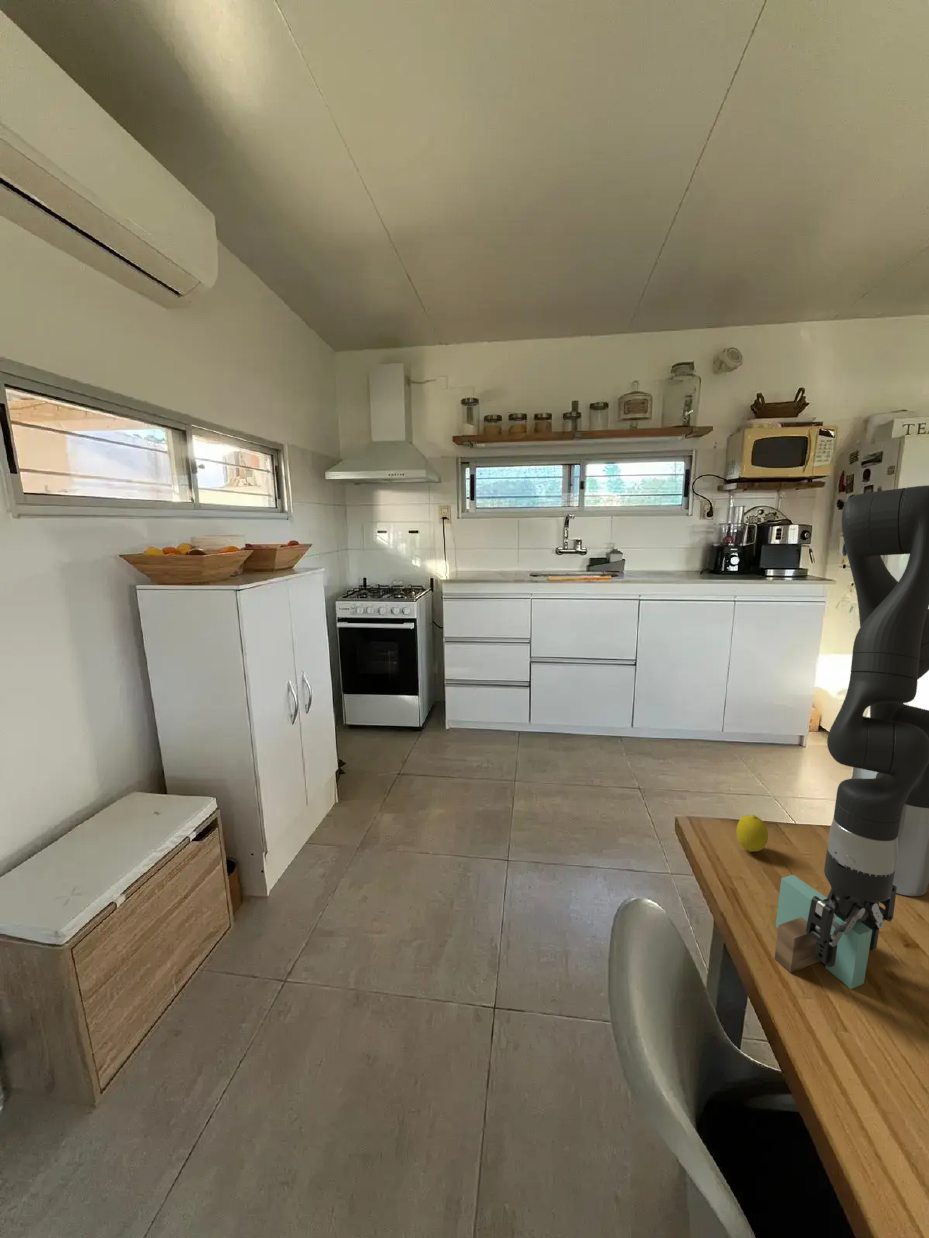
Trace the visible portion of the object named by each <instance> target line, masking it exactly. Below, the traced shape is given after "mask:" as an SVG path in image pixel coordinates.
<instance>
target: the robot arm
mask: <svg viewBox="0 0 929 1238" xmlns="http://www.w3.org/2000/svg"><path fill="white" fill-rule="evenodd" d="M841 531H842V538H843V543H844V547H845V552H846V555H847V559H848V563H849V567H850V571H851V575H852V579H853V582H854V587H855V591H856V597H857V599H856V600H857V605H858V606H857V607H858V617H859V626H860V627H859V629H858V631H857V633H856V635H855V638H854V641H853V646H852V647H853V648H852V654H851V655H852V656H851V663H850V664H851V665H850V666H851V667H850V675H849V683H848V687H847V691H846V694H845V697H844V700H843V703H842V705H841V707H840V709H839V712H838V713H837V716H836V717H835V719H834V721H833V723H832V725H831V727H830V730H828V731H829V732H828V734H827V739H826V744H827V746H826V747H827V750H828V752H829V755H831V757H832V758H833V759H834V760H835V762H837V763H838V764H840V765H842V766H847V767H851V768H856V769H860V770H861V769H862V770H866V771H869V772H875V773H877V774H876V775H875V777H874V778H860V777H859V778H858V777H857V778H847V779H844V780H842V781H840V783H839V785H838V786H837V790H836V796H835V806H834V812H833V813H834V814H833V818H832V822H831V825H830V826H829V827H830V828H829V832H828V838H827V839H828V840H827V846H826V854H825V860H824V861H825V862H824V869H823V873H824V876H825V877H826V880H827V882H828V883H829V885H830V891H829V893H828V894H827V895H828V896H827V897H826V898H827V899H824V900H821V899H820V898H818V897H817V896H814V897H813V898H812V900H811V905H810V911H809V916H808V922H807V927H806V933H807V934H808V935H810V936H811V937H813V938H814V939H815V940H816V941H817V947H816V957H817V958H818V959H819V960H820V962H821V963H822V964H824V965H825V967H826V966H828V967H832V966H834V965H835V958H836V951H837V945H836V944H837V943H838V941H839V940H840V938H841V937H842V935H843V934H845V935H848V934H849V932H850V931H851V929H852V928H853V926H854V924H855V923H857V922H858V921H860V922H862V923H863V924H865V925H866V926H867V927H869V928H870V929H872V935H871V942H870V948H869V951H874V950H876V949H877V946H878V945H877V944H878V939H879V934H880V929H883V927H884V926H885V922H884V921H887V922H892V921H893V919H894V913H895V907H896V906H895V904H896V897H897V894H898V895H902V896H906V897H907V896H908V897H920V896H923V895H925V894H926V893H927V891H928V887H929V886H928V885H929V709H925V708H920V707H916V706H913V705H908V704H907V703H911V702H913V701H914V699H916V696H917V692H918V691H917V690H918V682H919V681H918V680H920V679H921V678H922V677H923V676H924V675H926V674H927V673H928V672H929V484H928V485H918V486H910V487H908V486H907V487H901V488H894V489H885V490H879V491H871V492H863V493H858V494H855V495H852V496H851V497H849V498H848V499H847V500H846V501H845V503H844V505H843V507H842V511H841ZM894 555H895V556H896V555H909V556H908V559H907V560H908V561H907V564H906V567H905V569H904V572H903V573H902V576H901V577H900V579H899V580H897V579H896V578H895V577H894V576H893V575H892V573H891V572H890V571H889V569H888V568H887V566H886V565H885V562H884V560H883V558H882V556H894ZM905 703H906V704H905ZM867 708H869V709H870V710H869V711H870V716H869V717H868V716H864V714H865V713H864V712H865V711H866V710H867ZM880 904H882V905H883V906H884V908H883V907H881V905H880ZM834 914H835V915H836V916H837V917H838V918H840V919H841V920H842V921H844V924H842V925H840V924H839V923H837V922H836V921H835V920H833V919H834V918H835V915H834ZM816 925H817V927H816ZM832 926H834V927H835V931H834V932H833V934H832V935H831V934H830V933H831V928H832Z"/></svg>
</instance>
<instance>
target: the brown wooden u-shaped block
mask: <svg viewBox="0 0 929 1238" xmlns="http://www.w3.org/2000/svg"><path fill="white" fill-rule="evenodd" d="M806 927H807V921H806V920H805V919H804V918H802V917H800V918H797V919H794V920H792V921H789V922H786V923H783V924H780V925H779V926H778V928H777V935H776V944H775V945H776V946H775V953H774V960H775V961H777V963H778V964H780V965H781V967H783V968H784V969H785V970H786V971H787V972H788V973H789V974H792V973H794V972H797V971H799V970H802V969H804V968H807V967H810V966H812V965H815V964H817V963H820V962H821V961H820V960H819V959H818V958H817V957H816V947H817V941H816V940H815V939H814V938H813V937H811V936H810V935H808V934H807V933H806Z"/></svg>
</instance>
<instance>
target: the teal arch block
mask: <svg viewBox="0 0 929 1238" xmlns="http://www.w3.org/2000/svg"><path fill="white" fill-rule="evenodd" d="M814 896H817V897H818V898H820V899H821V900H824V899H827V897H826V896H825V895H823V894H821V893H820V892H819V891H817V890H816V889H815V888H813V887H812V886H811V885H809V884H807V883H806V882H804V881H803V880H802V879H801V878H799V877H797V876H796V875H794V874H790V875H788V876H784V877H781V878H780V886H779V894H778V903H777V904H778V905H777V910H776V911H777V912H776V920H775V921H776V922H775V927H776V928H777V929H778V926H779V925H780V924H783V923H786V922H789V921H792V920H794V919H797V918H800V917H802V918H804V919H805V920H806V921H807V922H808V916H809V911H810V905H811V900H812V898H813V897H814ZM834 915H835V914H834ZM833 920H835V921H836V922H837V923H839V924H840V925H842V924H844V921H842V920H841V919H840V918H838V917H837V916H836V915H835V918H834V919H833ZM816 927H817V925H816ZM834 931H835V927H834V926H832V928H831V933H830V934H831V935H832V934H833V932H834ZM871 935H872V929H870V928H869V927H867V926H866V925H865V924H863V923H862V922H860V921H858V922H857V923H855V924H854V926H853V928H852V929H851V931H850V932H849V934H848V935H845V934H843V935H842V937H841V938H840V940H839V941H838V943H837V944H836V945H837V951H836V958H835V965H834V966H832V967H828V966H826V965H825V967H824V968H825V970H827V971H828V972H830V973H831V974H832V975H833V976H834V977H835V978H837V979H838V980H839V981H841V983H843V984H844V985H845V986H846V987H848V988H849V989H850V990H853V989H855V988H857V987H859V986H862V985H864V984H865V980H866V979H865V978H866V974H867V973H866V972H867V965H868V961H869V960H868V959H869V953H870V950H869V948H870V942H871Z"/></svg>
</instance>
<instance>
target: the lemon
mask: <svg viewBox="0 0 929 1238" xmlns="http://www.w3.org/2000/svg"><path fill="white" fill-rule="evenodd" d="M735 831H736V835H735V836H736V838H737V841H738V843H739V844H740V845H741V847H743V848H744V849H745V850H747V851H748V852H750V853H752V852H759V851H762V850H763V849H765V847H766V845H767V843H768V841H769V840H768V839H769V832H768V828H767V825H766V823H765V822H764V821H763V820H762V819H761V818H760V817H759V816H756V815H755V814H750V815H749V814H748V815H745V816H743V817H741V818H740V819H739V820H738V823H737V825H736V829H735Z"/></svg>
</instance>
